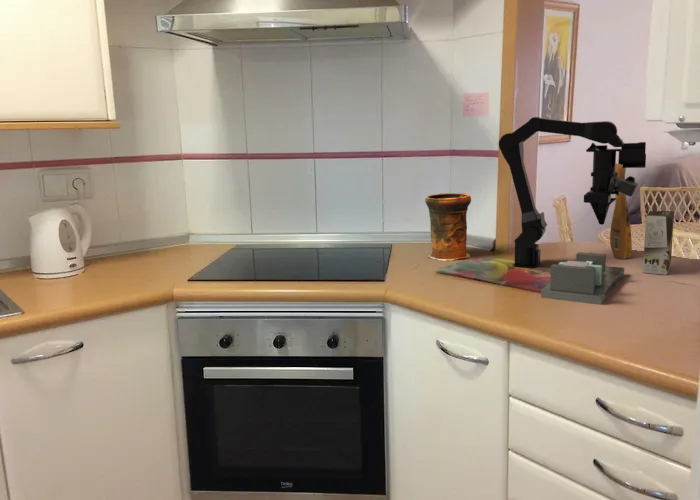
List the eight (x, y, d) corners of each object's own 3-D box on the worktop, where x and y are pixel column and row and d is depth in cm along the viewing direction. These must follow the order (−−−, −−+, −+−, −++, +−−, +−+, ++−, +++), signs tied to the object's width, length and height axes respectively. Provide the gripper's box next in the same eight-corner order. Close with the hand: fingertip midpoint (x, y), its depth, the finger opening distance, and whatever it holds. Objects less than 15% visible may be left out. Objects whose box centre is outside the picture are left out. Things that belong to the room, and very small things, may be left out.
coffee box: (668, 275, 163) (672, 216, 160) (641, 273, 167) (645, 215, 163) (671, 267, 171) (675, 210, 167) (646, 265, 174) (649, 209, 171)
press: (541, 297, 150) (541, 265, 148) (571, 269, 174) (571, 242, 172) (601, 304, 142) (602, 271, 141) (624, 274, 166) (625, 246, 164)
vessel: (445, 263, 187) (444, 199, 183) (418, 256, 199) (416, 196, 195) (481, 256, 194) (480, 194, 190) (452, 250, 206) (451, 191, 202)
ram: (557, 281, 154) (558, 263, 153) (572, 268, 166) (572, 251, 165) (599, 285, 149) (600, 267, 148) (611, 272, 161) (612, 254, 160)
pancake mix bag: (609, 260, 182) (613, 166, 176) (604, 246, 200) (608, 160, 194) (633, 260, 180) (639, 165, 174) (626, 247, 198) (631, 160, 191)
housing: (562, 288, 149) (563, 265, 148) (567, 283, 153) (568, 260, 152) (583, 291, 146) (584, 267, 145) (588, 285, 151) (589, 262, 149)
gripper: (630, 171, 154) (626, 232, 158) (641, 165, 169) (638, 220, 173) (584, 171, 160) (582, 229, 164) (599, 165, 176) (597, 218, 179)
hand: (601, 224), depth 170 cm, fingers closed
